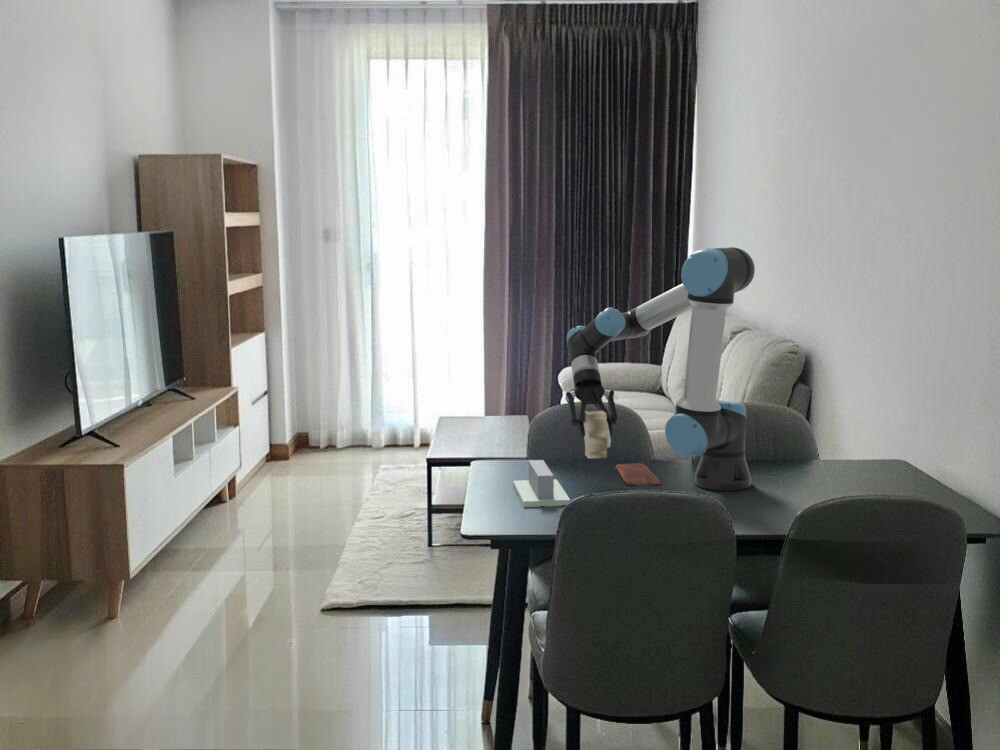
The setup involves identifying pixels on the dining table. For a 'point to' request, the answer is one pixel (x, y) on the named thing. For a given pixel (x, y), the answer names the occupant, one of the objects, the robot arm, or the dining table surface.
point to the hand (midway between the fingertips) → (598, 444)
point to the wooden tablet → (637, 474)
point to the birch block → (596, 434)
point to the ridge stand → (540, 487)
